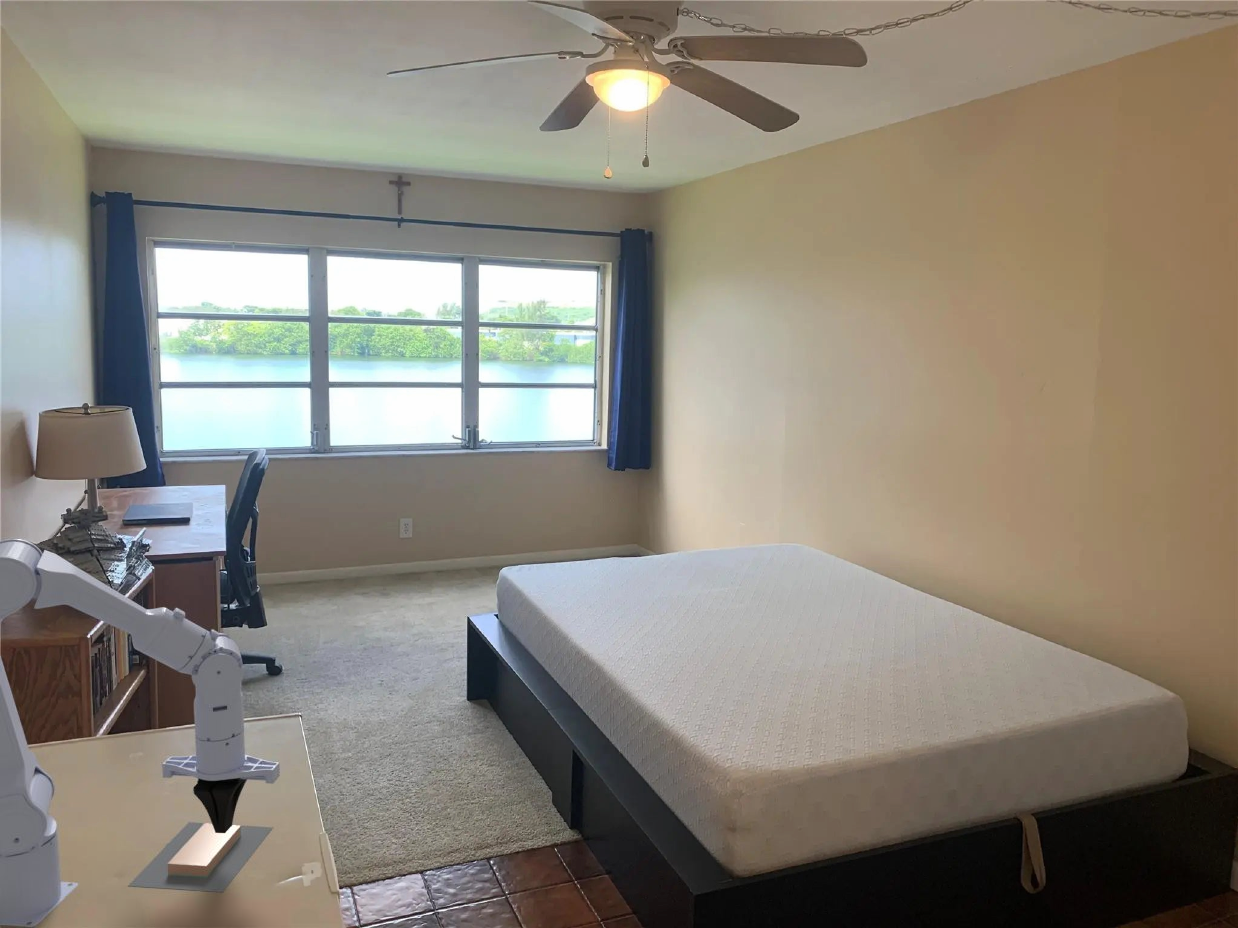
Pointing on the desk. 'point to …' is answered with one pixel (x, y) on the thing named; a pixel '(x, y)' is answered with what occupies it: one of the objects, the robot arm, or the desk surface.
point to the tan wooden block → (203, 851)
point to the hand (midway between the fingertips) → (223, 828)
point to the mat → (218, 878)
